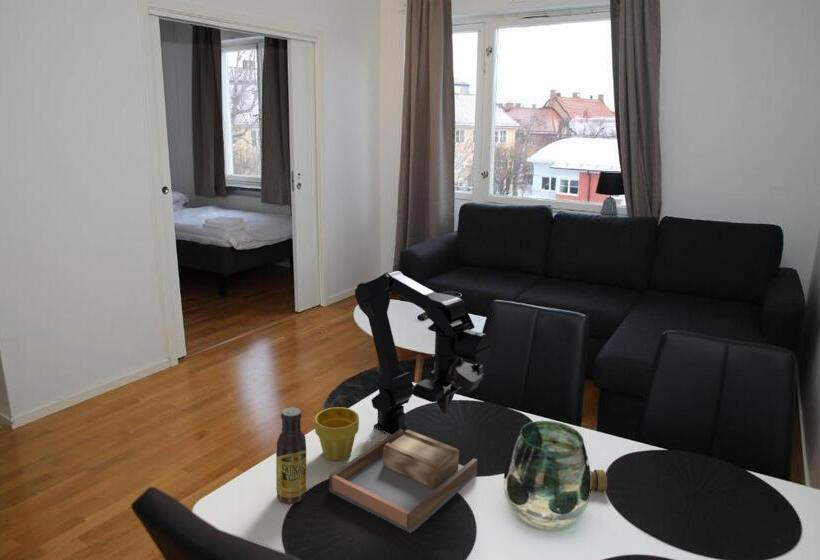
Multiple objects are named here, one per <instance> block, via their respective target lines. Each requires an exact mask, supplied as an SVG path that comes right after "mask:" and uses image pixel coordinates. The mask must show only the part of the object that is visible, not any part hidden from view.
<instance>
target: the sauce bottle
mask: <svg viewBox="0 0 820 560" xmlns="http://www.w3.org/2000/svg"><path fill="white" fill-rule="evenodd" d="M280 418H281V422H282V423H281V424H282V425H281V426H282V427H281V431H282V432H281V433H280V434H279V437H278V439H277V441H276V456H275V459H276V460H275V461H276V462H275V463H276V464H275V465H276V469H275V471H276V473H275V476H276V477H275V478H276V479H275V481H276V483H275V484H276V485H275V486H276V488H275V489H276V490H275V491H276V497H277V500H278V501H279V502H280V503H283V504H288V505H289V504H297V503H299V502H301V501H302V500H303V499H304V498H305V496H306V491H307V443H306V442H307V441H306V435H305V434H304V433H303V432H302V426H301V423H302V422H301V419H302V410H301V408H298V407H294V406H292V407H286V408H284V409H282V410H281V415H280Z"/></svg>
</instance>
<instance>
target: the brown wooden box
mask: <svg viewBox="0 0 820 560" xmlns="http://www.w3.org/2000/svg"><path fill="white" fill-rule="evenodd" d="M459 460H460V450H459V448H456V447H454V446H451V445H448V444H447V443H443V442H441V441H439V440H436V439H434V438H431V437H428V436H426V435H424V434H421V433H418V432H415V431H413V430H410V429H406V430H404V433H403V436H401V437H400V438H398V439H397V440H395V441H394V442H392V443H391V444H390V443H387V444H385V448H383V466H385V467H387V468H389V469H392V470H394V471H396V472H398V473H400V474H403V475H405V476H407V477H409V478H411V479H414V480H416V481H418V482H420V483H422V484H425V485H427V486H429V487H431V488H435V487H436V486H437V485H438V484H440V483H441V482H442V481H443V480H444V479H446V478H447V477H448V476H449V475H450V474H452V473H453V472H454V471H455V470H456V469H457V468H458V464H460V463H459Z"/></svg>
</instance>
